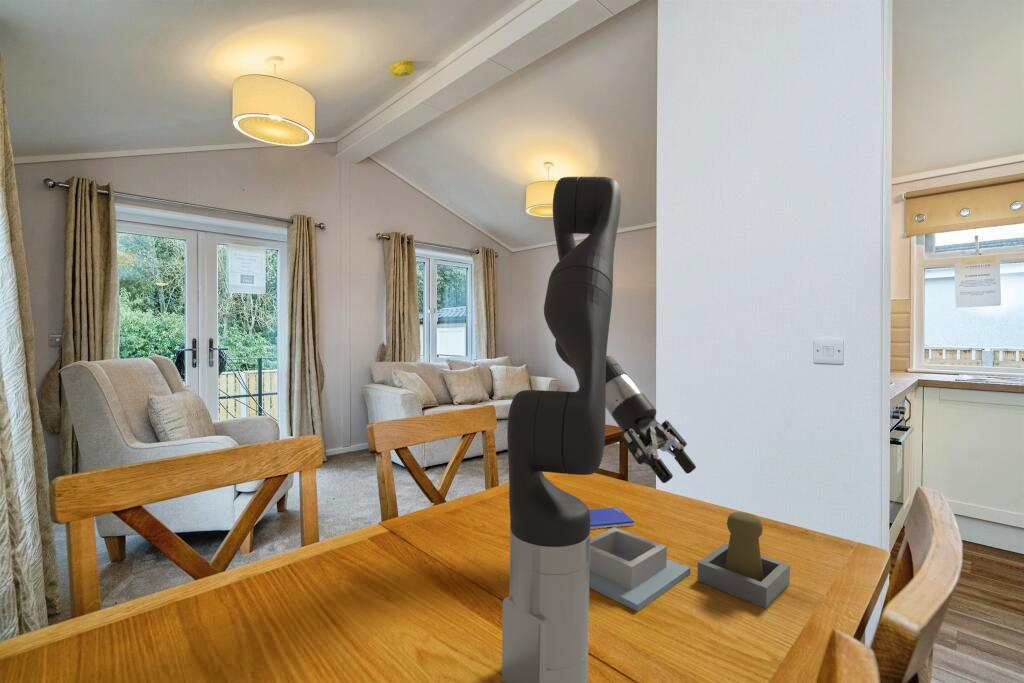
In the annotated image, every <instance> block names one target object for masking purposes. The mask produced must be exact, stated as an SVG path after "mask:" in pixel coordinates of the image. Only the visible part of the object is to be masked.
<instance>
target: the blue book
mask: <svg viewBox="0 0 1024 683" xmlns="http://www.w3.org/2000/svg"><path fill="white" fill-rule="evenodd" d="M589 512H590V530H597V528H600V529H608V528H607V527H612V528H614V527H615V528H621V527H622V526H623V527H633V525H634V526H635V521H634V519H633V518H631V517H630V516H629V515H628V514H627V513H626V512H624V511H623V510H622V509H620V508H619V507H605V508H594V509H591V508H590V509H589ZM623 527H622V528H623Z"/></svg>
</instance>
